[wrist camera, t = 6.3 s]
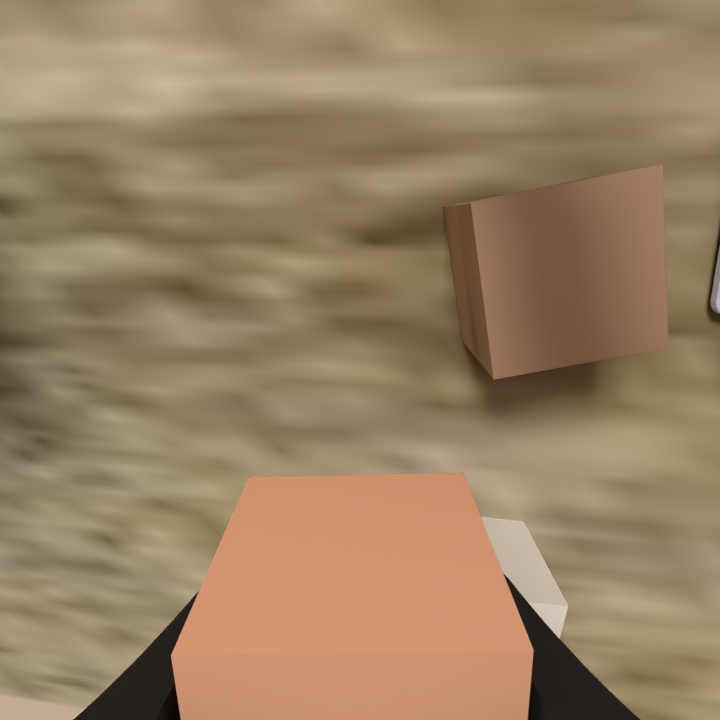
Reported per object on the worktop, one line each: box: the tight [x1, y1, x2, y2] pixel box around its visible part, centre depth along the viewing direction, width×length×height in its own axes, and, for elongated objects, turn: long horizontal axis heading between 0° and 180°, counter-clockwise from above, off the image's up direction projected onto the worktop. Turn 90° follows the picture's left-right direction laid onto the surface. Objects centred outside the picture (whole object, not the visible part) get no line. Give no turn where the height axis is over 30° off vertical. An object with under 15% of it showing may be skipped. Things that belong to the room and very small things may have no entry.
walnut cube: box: [443, 164, 669, 380], centre depth 16 cm, size 5×5×5 cm
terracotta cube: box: [171, 473, 534, 720], centre depth 10 cm, size 5×5×5 cm
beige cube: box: [481, 517, 568, 639], centre depth 20 cm, size 5×5×5 cm
